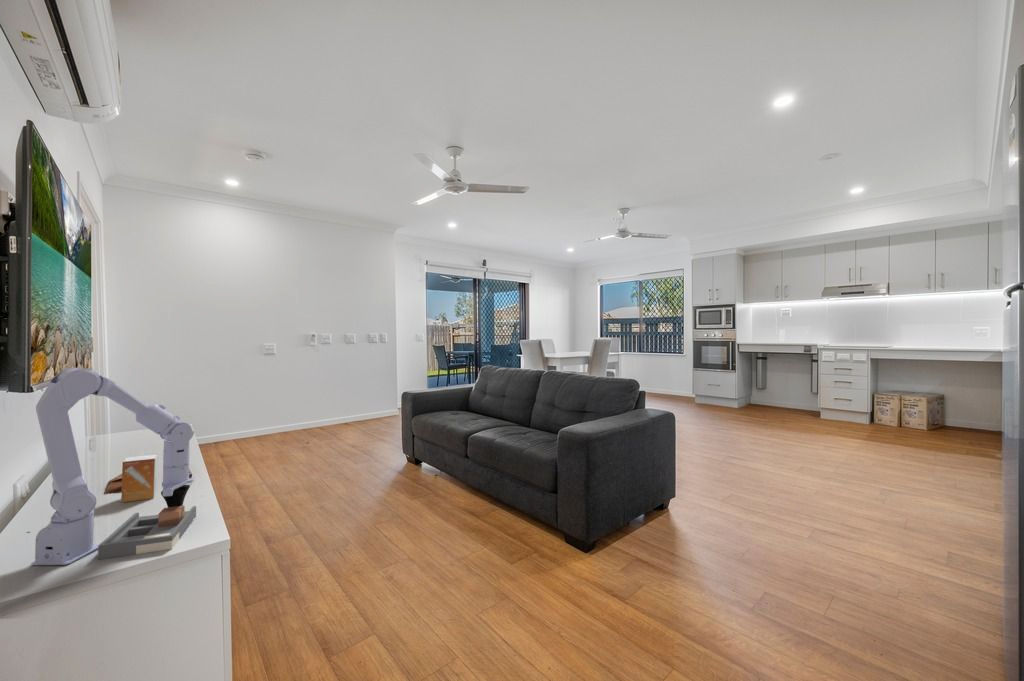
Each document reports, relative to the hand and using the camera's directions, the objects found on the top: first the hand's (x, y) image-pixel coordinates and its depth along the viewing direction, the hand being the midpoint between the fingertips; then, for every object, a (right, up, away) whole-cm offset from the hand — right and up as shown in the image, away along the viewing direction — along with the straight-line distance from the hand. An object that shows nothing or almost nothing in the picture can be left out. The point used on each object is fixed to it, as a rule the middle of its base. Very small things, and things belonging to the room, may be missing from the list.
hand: (175, 514), depth 120 cm
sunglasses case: (-44, -4, +32) cm, 55 cm away
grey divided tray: (-1, -3, -7) cm, 8 cm away
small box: (-27, -3, +20) cm, 34 cm away
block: (+2, -1, -3) cm, 4 cm away
